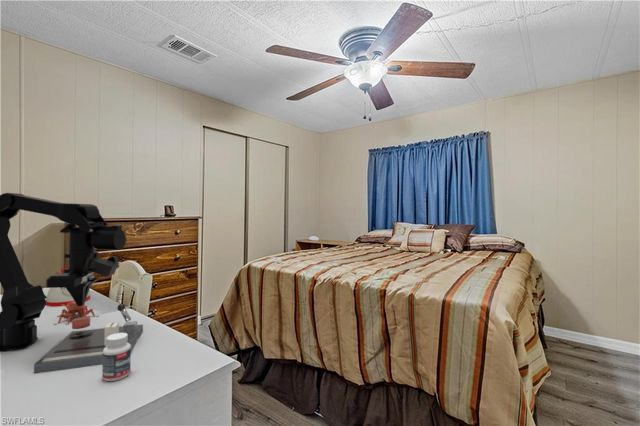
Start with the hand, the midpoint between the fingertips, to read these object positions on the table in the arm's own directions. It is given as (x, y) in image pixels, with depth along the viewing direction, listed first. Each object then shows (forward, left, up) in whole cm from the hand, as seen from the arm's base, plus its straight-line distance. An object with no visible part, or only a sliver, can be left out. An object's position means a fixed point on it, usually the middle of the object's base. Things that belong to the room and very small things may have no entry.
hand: (80, 305), depth 84 cm
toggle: (+11, +2, -6) cm, 13 cm away
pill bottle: (+14, -21, -11) cm, 28 cm away
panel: (+5, -4, -11) cm, 13 cm away
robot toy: (-11, +27, -11) cm, 31 cm away
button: (0, +2, -6) cm, 6 cm away
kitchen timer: (-21, +50, -11) cm, 55 cm away
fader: (+10, -8, -8) cm, 15 cm away
